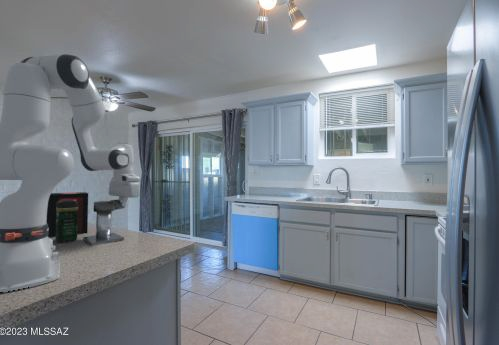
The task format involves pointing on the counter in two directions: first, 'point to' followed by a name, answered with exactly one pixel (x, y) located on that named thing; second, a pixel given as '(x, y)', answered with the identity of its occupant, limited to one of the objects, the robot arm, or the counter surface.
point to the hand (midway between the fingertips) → (123, 206)
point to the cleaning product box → (82, 211)
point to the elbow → (107, 206)
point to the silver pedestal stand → (103, 230)
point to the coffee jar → (66, 220)
